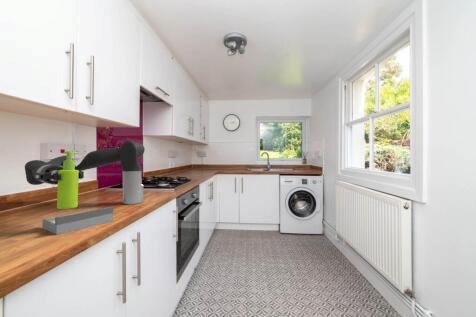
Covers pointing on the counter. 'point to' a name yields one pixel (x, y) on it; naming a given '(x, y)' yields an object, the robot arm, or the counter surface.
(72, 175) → the soap dispenser
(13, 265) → the counter surface
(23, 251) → the counter surface
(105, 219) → the dock
